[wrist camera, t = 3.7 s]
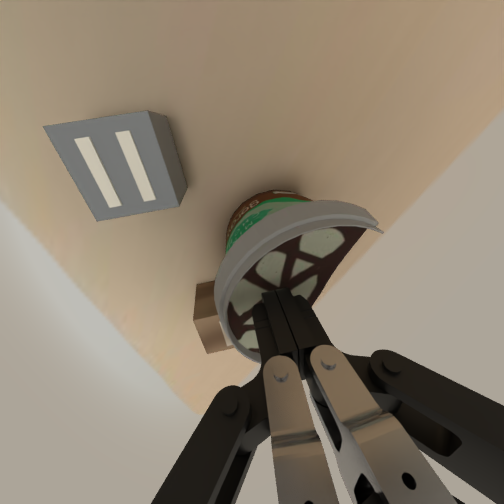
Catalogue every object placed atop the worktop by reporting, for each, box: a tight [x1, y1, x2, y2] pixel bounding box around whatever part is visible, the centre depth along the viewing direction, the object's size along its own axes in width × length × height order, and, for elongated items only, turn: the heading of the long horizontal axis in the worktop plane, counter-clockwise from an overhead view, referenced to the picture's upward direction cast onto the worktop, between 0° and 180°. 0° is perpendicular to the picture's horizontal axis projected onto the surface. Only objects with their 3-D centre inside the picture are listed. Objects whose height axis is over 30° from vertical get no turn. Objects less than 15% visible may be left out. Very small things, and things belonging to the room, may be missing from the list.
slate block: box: [43, 111, 187, 221], centre depth 14 cm, size 5×5×5 cm
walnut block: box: [193, 281, 235, 354], centre depth 22 cm, size 5×5×5 cm
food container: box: [214, 190, 384, 364], centre depth 16 cm, size 12×6×10 cm, turn 153°
